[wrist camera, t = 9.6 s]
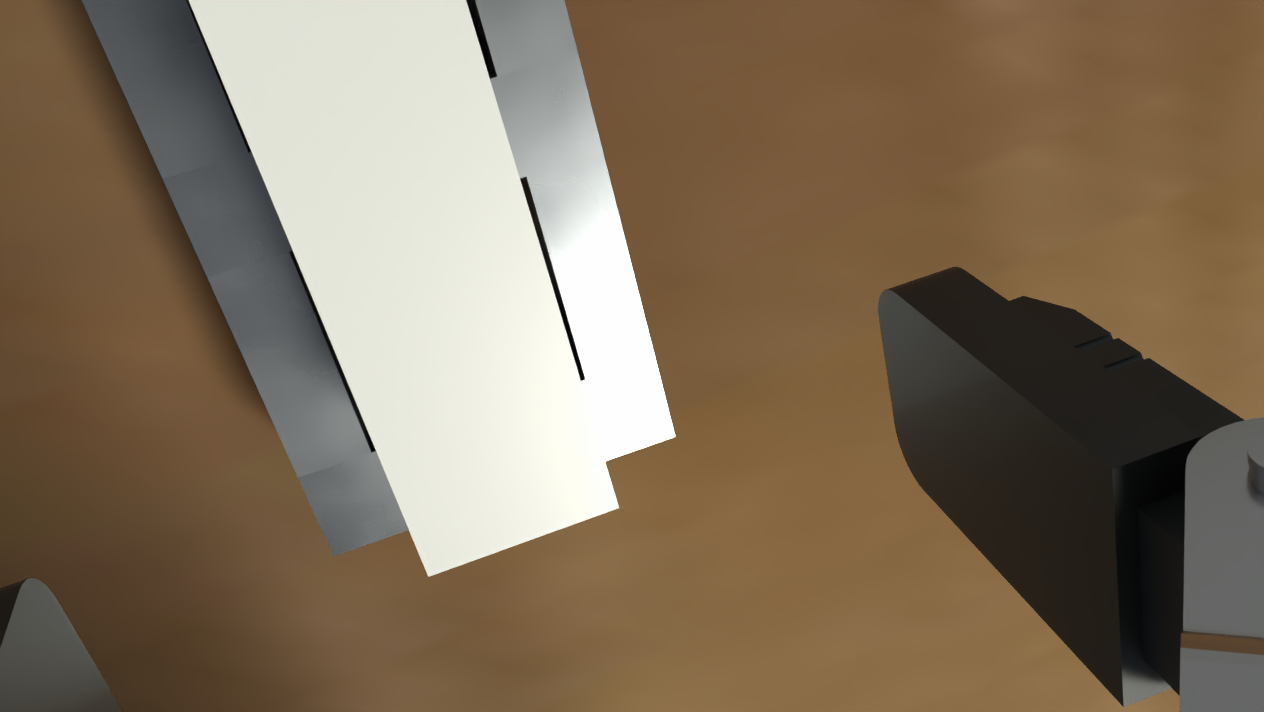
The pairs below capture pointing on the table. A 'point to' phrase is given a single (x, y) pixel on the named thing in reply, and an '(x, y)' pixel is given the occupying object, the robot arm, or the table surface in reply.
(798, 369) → the table surface
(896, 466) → the table surface
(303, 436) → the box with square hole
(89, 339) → the table surface
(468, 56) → the light grey box
